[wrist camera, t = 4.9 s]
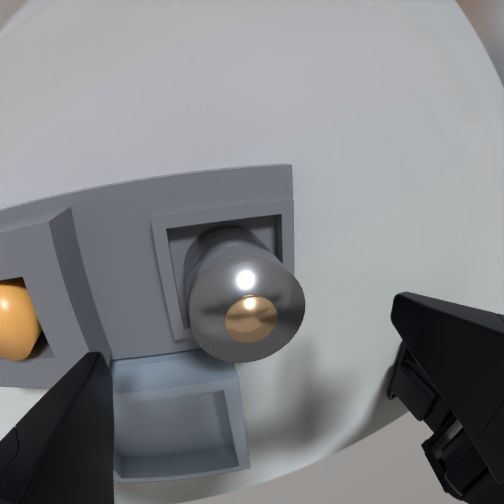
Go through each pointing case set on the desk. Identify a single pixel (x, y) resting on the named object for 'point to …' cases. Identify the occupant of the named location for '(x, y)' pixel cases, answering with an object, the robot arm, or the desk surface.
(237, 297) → the cylinder
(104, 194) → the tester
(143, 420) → the cup
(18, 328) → the tester button
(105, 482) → the robot arm
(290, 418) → the desk surface
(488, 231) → the desk surface
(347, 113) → the desk surface
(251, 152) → the desk surface
